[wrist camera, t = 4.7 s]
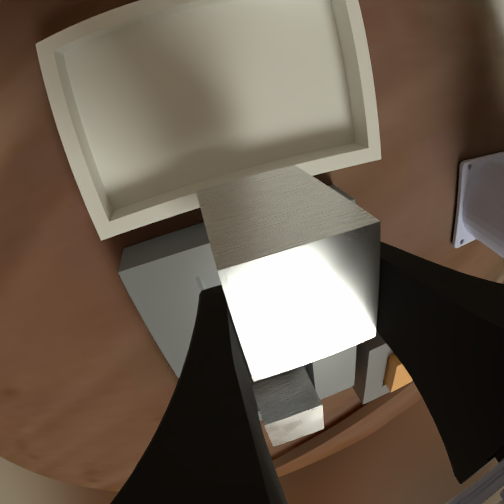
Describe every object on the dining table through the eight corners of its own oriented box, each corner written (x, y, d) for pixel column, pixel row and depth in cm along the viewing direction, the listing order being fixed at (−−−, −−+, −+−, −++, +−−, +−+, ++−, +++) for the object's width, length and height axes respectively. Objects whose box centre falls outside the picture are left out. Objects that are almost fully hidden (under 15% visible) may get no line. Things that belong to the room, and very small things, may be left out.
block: (292, 343, 24) (322, 404, 19) (298, 372, 26) (323, 428, 21) (243, 360, 23) (264, 425, 18) (253, 387, 25) (273, 446, 20)
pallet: (333, 184, 19) (355, 199, 16) (342, 365, 28) (354, 385, 26) (123, 248, 17) (117, 272, 15) (211, 410, 27) (216, 433, 25)
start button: (418, 324, 26) (436, 345, 24) (411, 353, 29) (426, 372, 26) (380, 343, 26) (397, 366, 24) (376, 370, 28) (390, 392, 26)
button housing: (432, 290, 27) (451, 309, 24) (418, 350, 31) (432, 367, 29) (352, 327, 26) (369, 351, 23) (350, 383, 30) (362, 404, 28)
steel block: (293, 164, 12) (380, 221, 7) (306, 250, 14) (375, 336, 9) (195, 190, 12) (217, 270, 7) (221, 275, 14) (253, 381, 9)
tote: (334, -15, 12) (352, -23, 11) (362, 151, 18) (381, 159, 16) (49, 47, 11) (35, 44, 9) (107, 224, 16) (101, 240, 15)
